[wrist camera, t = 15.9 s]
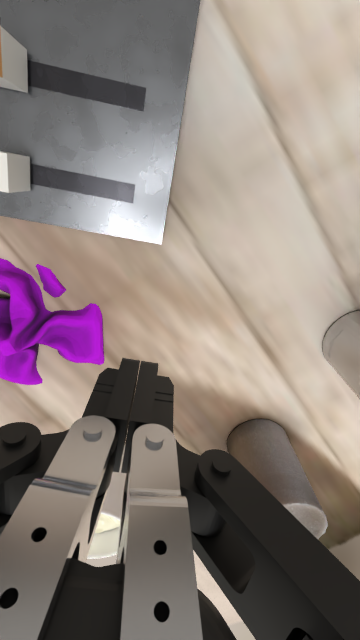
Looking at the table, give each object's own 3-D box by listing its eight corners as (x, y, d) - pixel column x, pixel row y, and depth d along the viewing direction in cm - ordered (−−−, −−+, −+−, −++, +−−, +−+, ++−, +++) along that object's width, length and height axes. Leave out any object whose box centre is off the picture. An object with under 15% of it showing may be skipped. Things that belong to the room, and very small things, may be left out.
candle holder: (82, 429, 47) (56, 506, 36) (145, 441, 48) (139, 518, 37) (73, 472, 50) (47, 553, 40) (132, 482, 52) (122, 563, 41)
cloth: (133, 344, 41) (127, 370, 36) (29, 403, 45) (9, 435, 39) (12, 192, 33) (-20, 195, 27) (-104, 280, 36) (-153, 299, 31)
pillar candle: (227, 465, 51) (250, 569, 37) (225, 420, 47) (251, 520, 33) (284, 458, 51) (328, 561, 37) (288, 414, 47) (339, 511, 33)
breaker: (29, 156, 29) (6, 153, 25) (30, 190, 30) (8, 192, 26) (-4, 149, 28) (-33, 145, 24) (-2, 184, 30) (-29, 185, 26)
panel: (210, -69, 25) (214, -89, 23) (161, 240, 35) (161, 244, 33) (-54, -147, 22) (-74, -178, 21) (-23, 207, 33) (-35, 209, 31)
